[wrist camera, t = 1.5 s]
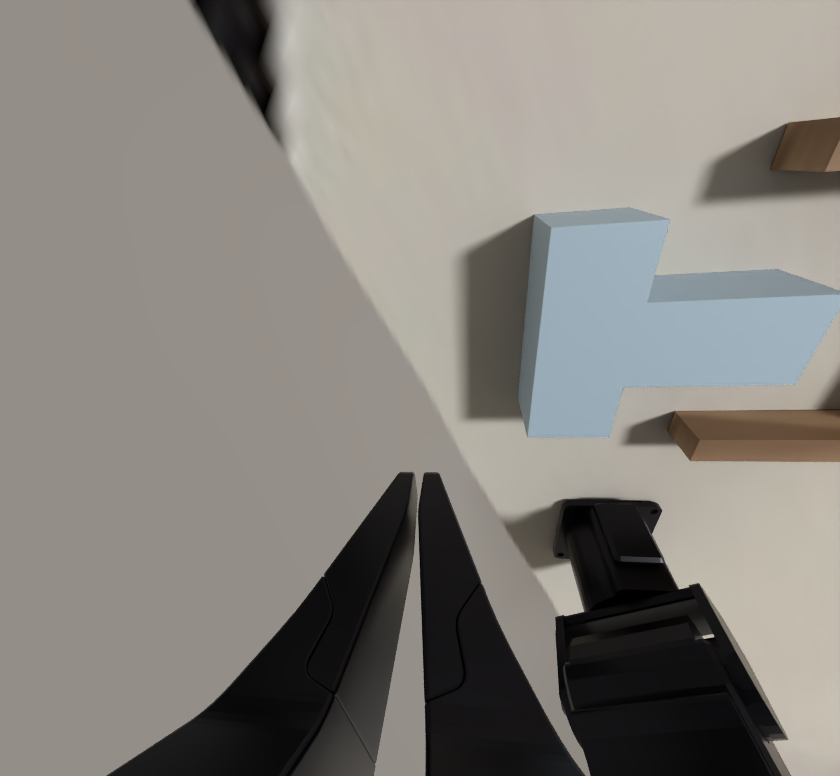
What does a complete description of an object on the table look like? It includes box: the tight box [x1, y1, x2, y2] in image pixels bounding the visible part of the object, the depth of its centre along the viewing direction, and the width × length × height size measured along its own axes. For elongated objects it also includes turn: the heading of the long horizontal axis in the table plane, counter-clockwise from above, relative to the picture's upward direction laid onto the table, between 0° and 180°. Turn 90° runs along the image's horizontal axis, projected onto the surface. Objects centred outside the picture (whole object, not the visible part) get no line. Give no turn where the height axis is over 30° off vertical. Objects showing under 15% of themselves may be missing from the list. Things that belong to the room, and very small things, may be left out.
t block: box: [518, 208, 840, 438], centre depth 16 cm, size 10×11×4 cm
